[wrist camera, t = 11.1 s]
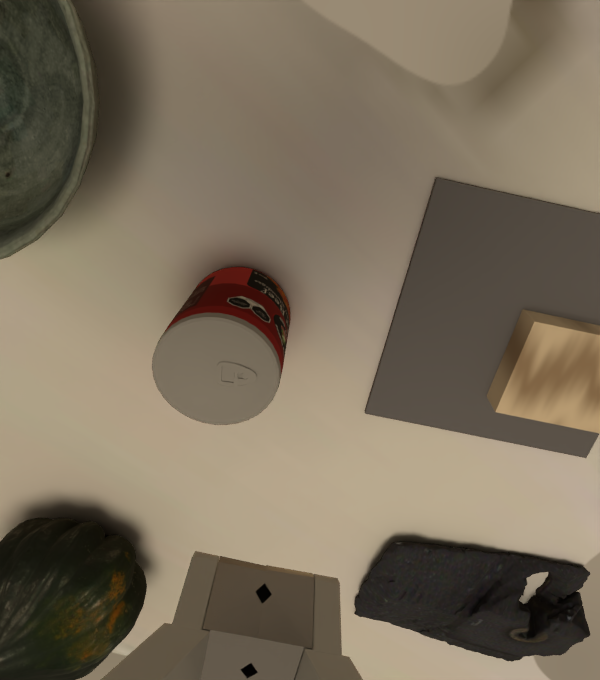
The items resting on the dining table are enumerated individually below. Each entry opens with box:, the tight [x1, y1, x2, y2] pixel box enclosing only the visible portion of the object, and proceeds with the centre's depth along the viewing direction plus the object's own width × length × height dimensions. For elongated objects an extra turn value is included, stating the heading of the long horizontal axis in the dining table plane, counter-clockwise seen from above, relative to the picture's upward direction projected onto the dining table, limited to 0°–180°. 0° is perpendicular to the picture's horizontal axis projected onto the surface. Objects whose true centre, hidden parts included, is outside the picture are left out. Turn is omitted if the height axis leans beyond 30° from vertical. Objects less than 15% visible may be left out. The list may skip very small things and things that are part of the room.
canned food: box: [152, 267, 290, 425], centre depth 37 cm, size 8×8×11 cm
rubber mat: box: [365, 177, 600, 458], centre depth 41 cm, size 20×20×1 cm
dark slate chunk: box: [354, 542, 590, 661], centre depth 52 cm, size 15×22×5 cm
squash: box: [0, 518, 147, 680], centre depth 48 cm, size 14×15×15 cm
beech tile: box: [487, 309, 600, 433], centre depth 41 cm, size 8×2×12 cm
